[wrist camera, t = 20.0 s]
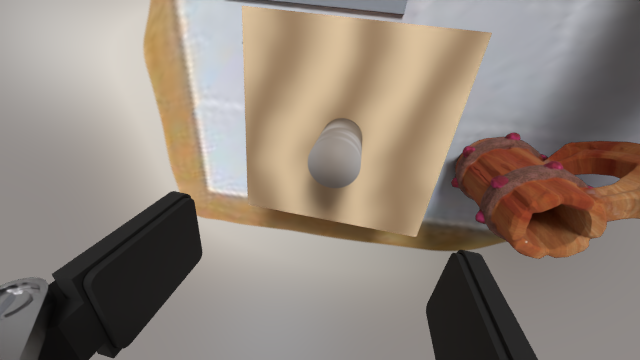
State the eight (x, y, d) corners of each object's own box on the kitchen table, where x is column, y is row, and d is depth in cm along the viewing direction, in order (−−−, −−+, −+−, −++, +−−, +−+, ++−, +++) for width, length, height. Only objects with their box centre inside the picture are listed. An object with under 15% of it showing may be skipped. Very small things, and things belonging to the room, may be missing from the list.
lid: (485, 33, 18) (548, 22, 12) (414, 230, 26) (428, 285, 20) (247, 7, 20) (192, -14, 13) (251, 199, 28) (219, 240, 22)
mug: (452, 198, 34) (505, 287, 21) (436, 146, 32) (485, 211, 18) (583, 160, 30) (757, 246, 16) (577, 95, 27) (780, 135, 14)
